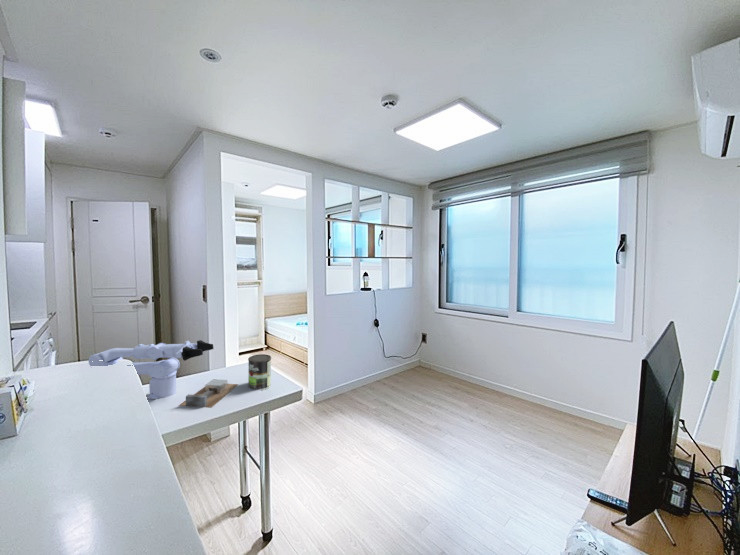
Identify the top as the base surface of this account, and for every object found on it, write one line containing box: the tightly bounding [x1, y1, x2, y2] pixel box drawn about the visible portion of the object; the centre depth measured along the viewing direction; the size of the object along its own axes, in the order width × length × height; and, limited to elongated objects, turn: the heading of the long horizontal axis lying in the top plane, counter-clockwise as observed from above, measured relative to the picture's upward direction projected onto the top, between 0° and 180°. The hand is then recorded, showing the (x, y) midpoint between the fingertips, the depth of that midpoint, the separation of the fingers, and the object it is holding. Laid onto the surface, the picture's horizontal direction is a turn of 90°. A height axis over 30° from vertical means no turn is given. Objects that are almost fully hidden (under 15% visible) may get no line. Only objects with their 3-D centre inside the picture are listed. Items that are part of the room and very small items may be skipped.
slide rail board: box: [178, 383, 239, 409], centre depth 133 cm, size 14×22×5 cm, turn 176°
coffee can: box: [247, 353, 272, 391], centre depth 144 cm, size 10×10×14 cm
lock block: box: [204, 379, 229, 393], centre depth 138 cm, size 7×6×3 cm
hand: (207, 349), depth 130 cm, fingers open, 7 cm apart
